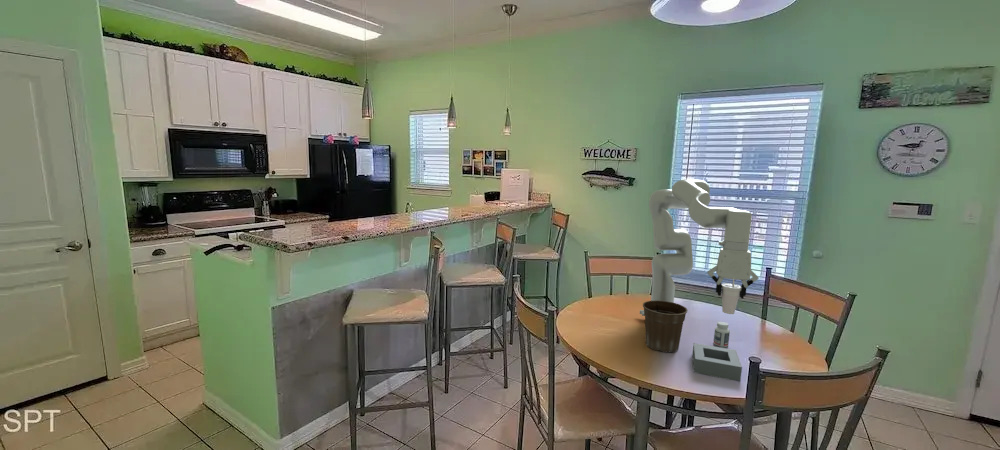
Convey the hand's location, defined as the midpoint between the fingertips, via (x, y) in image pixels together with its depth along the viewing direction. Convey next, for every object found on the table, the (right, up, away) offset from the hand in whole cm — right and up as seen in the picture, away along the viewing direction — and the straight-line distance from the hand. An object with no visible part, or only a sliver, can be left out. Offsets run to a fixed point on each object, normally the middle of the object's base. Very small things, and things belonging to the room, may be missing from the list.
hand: (730, 295), depth 146 cm
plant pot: (-17, -23, +18) cm, 34 cm away
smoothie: (0, -6, +1) cm, 6 cm away
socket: (-5, -26, +1) cm, 26 cm away
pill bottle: (+8, -23, +21) cm, 32 cm away
